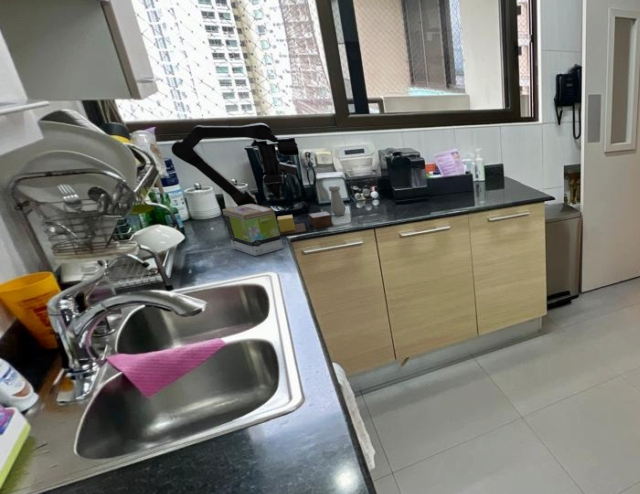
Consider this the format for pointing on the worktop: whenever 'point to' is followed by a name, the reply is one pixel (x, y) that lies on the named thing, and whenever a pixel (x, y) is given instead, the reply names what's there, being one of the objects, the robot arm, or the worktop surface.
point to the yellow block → (286, 223)
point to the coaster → (299, 229)
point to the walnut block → (320, 219)
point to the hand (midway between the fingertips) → (278, 196)
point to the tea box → (253, 229)
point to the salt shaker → (336, 201)
